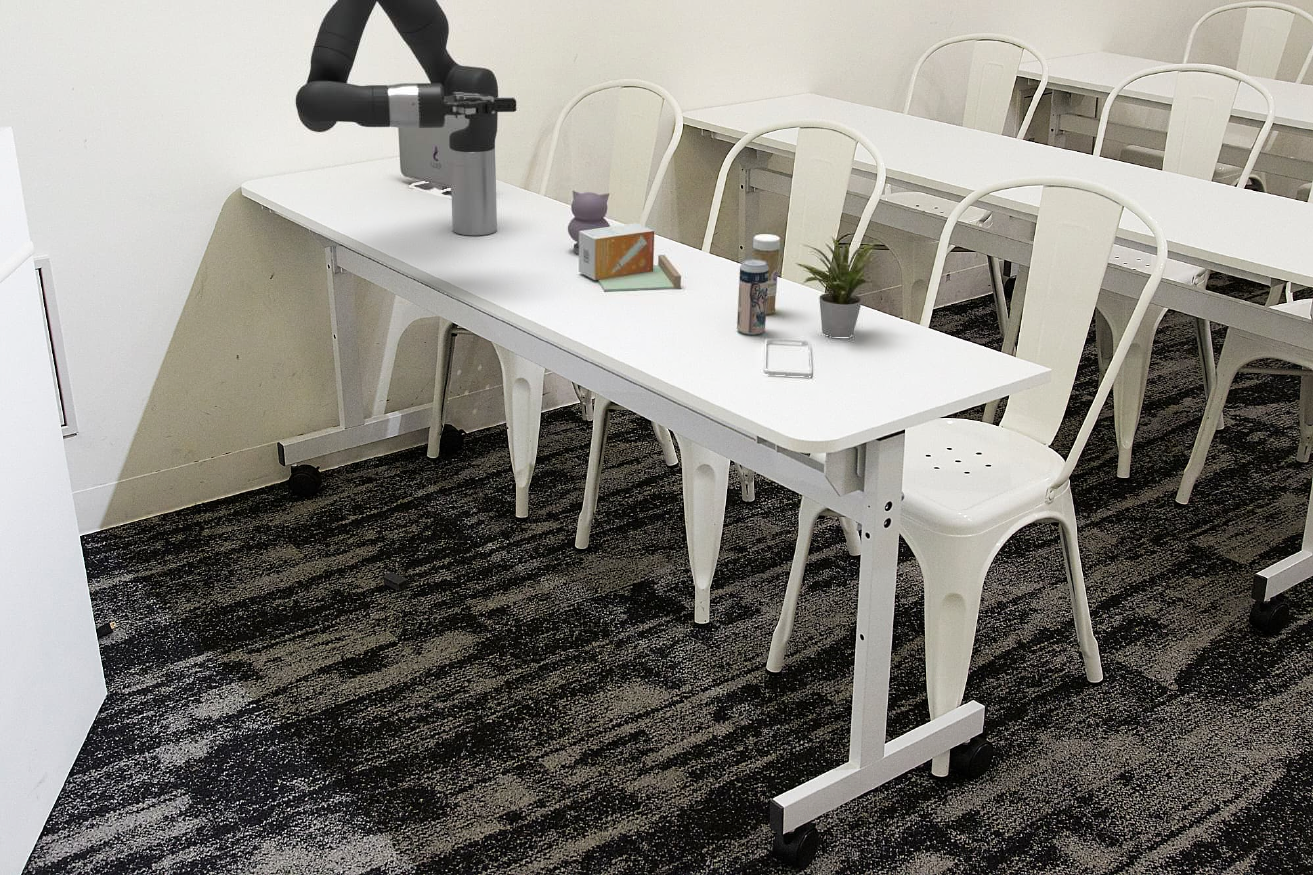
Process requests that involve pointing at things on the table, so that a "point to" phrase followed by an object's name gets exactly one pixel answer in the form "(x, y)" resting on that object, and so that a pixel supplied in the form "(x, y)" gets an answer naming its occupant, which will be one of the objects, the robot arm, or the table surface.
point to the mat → (646, 279)
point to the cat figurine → (587, 214)
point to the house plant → (840, 290)
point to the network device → (428, 152)
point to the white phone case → (788, 373)
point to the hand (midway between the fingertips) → (515, 104)
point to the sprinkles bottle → (768, 264)
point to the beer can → (752, 296)
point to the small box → (616, 251)
